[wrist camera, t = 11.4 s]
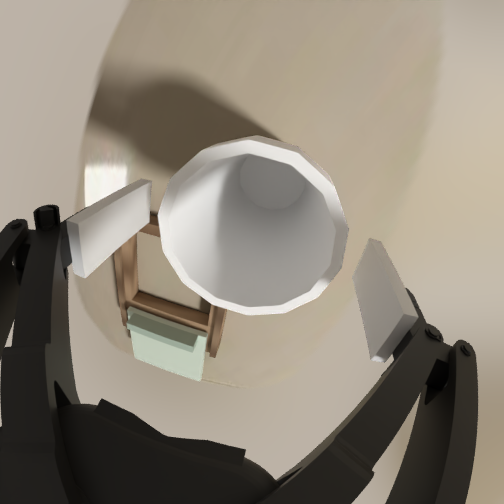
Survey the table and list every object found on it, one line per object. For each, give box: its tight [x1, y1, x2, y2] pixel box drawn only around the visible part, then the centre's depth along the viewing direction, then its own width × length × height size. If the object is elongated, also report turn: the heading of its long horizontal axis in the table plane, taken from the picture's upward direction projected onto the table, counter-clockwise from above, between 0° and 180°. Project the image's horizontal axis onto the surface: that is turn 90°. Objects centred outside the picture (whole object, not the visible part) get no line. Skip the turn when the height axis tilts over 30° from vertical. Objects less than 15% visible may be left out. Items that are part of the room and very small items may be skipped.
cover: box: [127, 306, 208, 381], centre depth 34 cm, size 11×11×3 cm
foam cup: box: [158, 135, 349, 315], centre depth 19 cm, size 10×9×13 cm
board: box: [114, 215, 227, 358], centre depth 31 cm, size 17×14×3 cm
